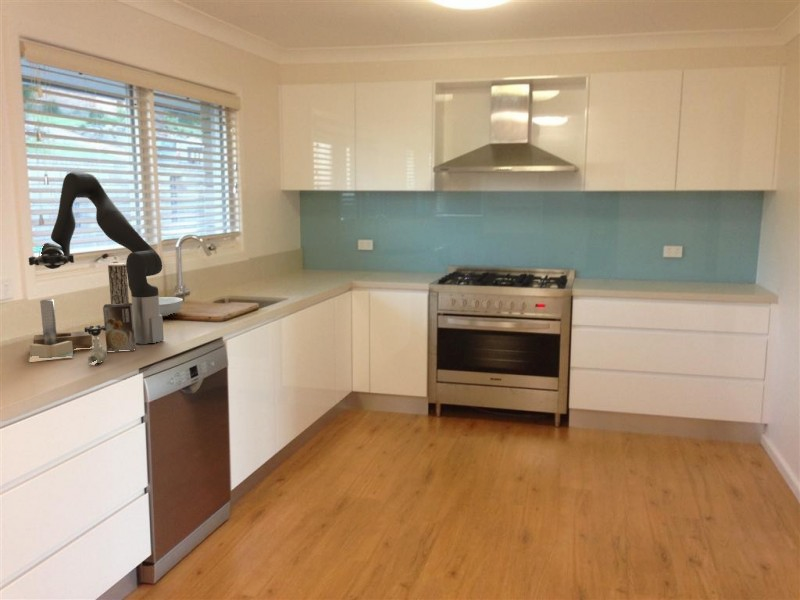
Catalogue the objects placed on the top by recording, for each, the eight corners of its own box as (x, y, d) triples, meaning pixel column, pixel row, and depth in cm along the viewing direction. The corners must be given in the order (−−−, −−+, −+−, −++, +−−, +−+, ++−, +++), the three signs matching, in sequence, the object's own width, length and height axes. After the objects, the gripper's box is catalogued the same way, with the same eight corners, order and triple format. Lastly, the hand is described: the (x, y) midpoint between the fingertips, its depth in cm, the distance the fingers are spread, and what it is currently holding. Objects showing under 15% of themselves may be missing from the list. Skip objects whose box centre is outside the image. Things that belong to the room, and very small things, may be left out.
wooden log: (111, 326, 275) (106, 265, 270) (113, 323, 281) (109, 263, 277) (129, 325, 276) (125, 264, 272) (131, 322, 283) (127, 262, 278)
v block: (31, 355, 230) (29, 342, 229) (73, 351, 235) (72, 338, 234) (28, 362, 221) (27, 349, 220) (73, 358, 226) (72, 345, 225)
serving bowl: (191, 311, 306) (190, 296, 305) (171, 321, 285) (170, 305, 284) (147, 311, 308) (146, 296, 307) (124, 320, 287) (122, 304, 286)
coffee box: (136, 347, 242) (133, 302, 239) (134, 351, 235) (131, 305, 233) (108, 348, 239) (104, 303, 236) (106, 353, 233) (102, 307, 230)
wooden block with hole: (92, 344, 246) (91, 330, 245) (92, 349, 239) (91, 335, 238) (36, 349, 238) (34, 335, 238) (34, 354, 231) (33, 340, 230)
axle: (61, 351, 231) (56, 299, 227) (51, 354, 227) (46, 301, 224) (51, 351, 232) (46, 299, 229) (42, 353, 228) (37, 301, 225)
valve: (112, 360, 223) (109, 325, 221) (104, 366, 217) (101, 329, 215) (91, 361, 223) (88, 325, 221) (83, 366, 216) (80, 329, 214)
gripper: (30, 248, 248) (26, 252, 233) (73, 246, 254) (72, 249, 239) (32, 269, 249) (28, 273, 235) (75, 266, 255) (74, 270, 240)
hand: (50, 261), depth 237 cm, fingers open, 8 cm apart
